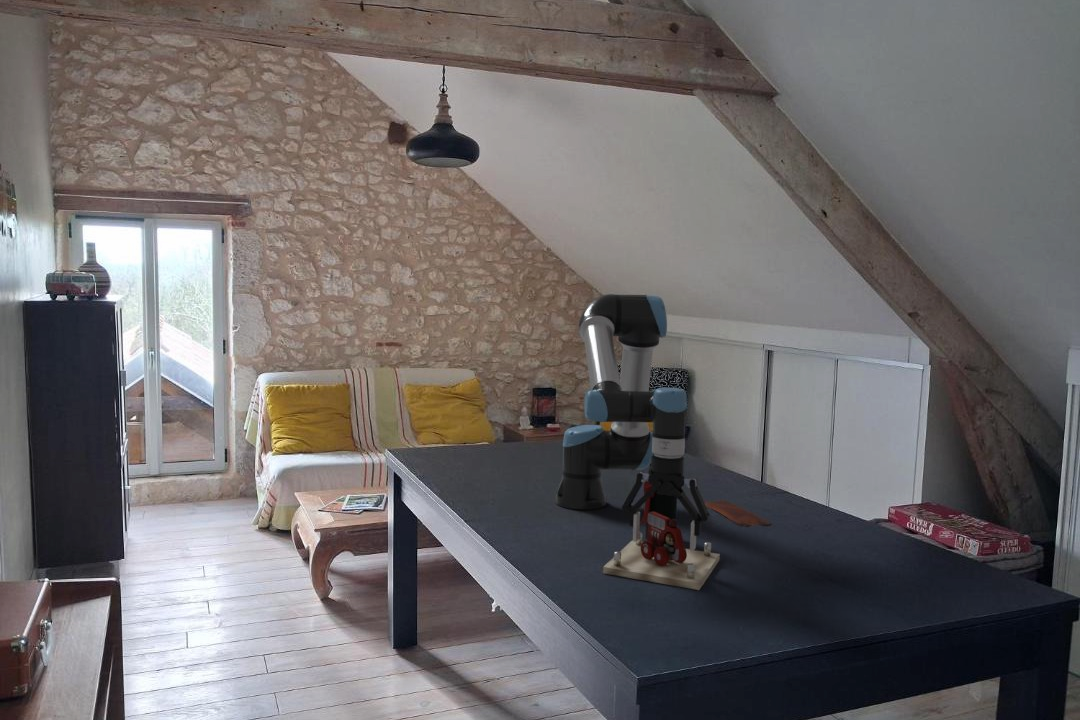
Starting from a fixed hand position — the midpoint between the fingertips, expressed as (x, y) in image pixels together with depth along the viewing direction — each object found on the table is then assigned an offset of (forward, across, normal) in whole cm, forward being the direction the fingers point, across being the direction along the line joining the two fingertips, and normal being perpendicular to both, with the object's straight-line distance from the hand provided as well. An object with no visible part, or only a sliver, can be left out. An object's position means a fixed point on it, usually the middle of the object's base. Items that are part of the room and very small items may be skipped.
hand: (663, 544), depth 189 cm
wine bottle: (+5, -7, +20) cm, 22 cm away
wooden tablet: (+6, +6, +56) cm, 56 cm away
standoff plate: (+5, 0, 0) cm, 5 cm away
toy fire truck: (+4, 0, 0) cm, 4 cm away
